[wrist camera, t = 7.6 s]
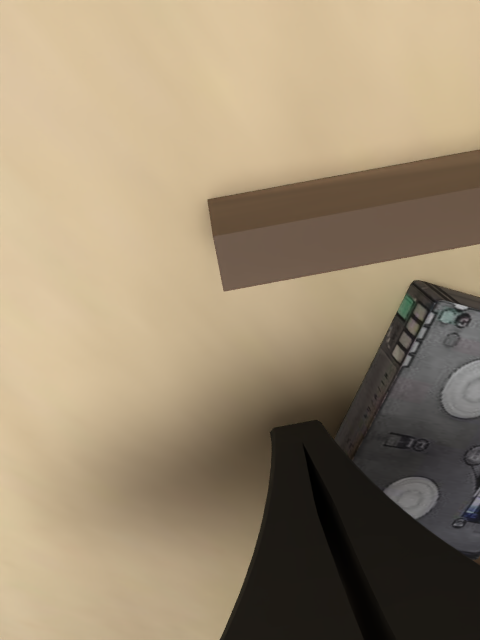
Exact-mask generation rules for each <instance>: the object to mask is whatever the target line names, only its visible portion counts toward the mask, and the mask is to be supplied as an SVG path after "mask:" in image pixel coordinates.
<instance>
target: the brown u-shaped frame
mask: <svg viewBox="0 0 480 640" xmlns="http://www.w3.org/2000/svg"><path fill="white" fill-rule="evenodd" d="M208 206H209V212H210V219H211V226H212V232H213V238H214V244H215V249H216V254H217V259H218V264H219V270H220V275H221V280H222V285H223V290H224V291H229V290H235V289H240V288H245V287H251V286H256V285H262V284H267V283H272V282H278V281H283V280H288V279H294V278H299V277H305V276H310V275H315V274H321V273H326V272H331V271H337V270H342V269H347V268H353V267H358V266H364V265H369V264H374V263H380V262H385V261H390V260H396V259H401V258H407V257H412V256H417V255H423V254H428V253H433V252H439V251H444V250H449V249H455V248H460V247H466V246H471V245H476V244H480V150H476V151H470V152H465V153H460V154H454V155H449V156H443V157H438V158H432V159H427V160H421V161H416V162H410V163H405V164H400V165H394V166H389V167H383V168H378V169H372V170H367V171H361V172H356V173H351V174H345V175H340V176H334V177H329V178H323V179H318V180H312V181H307V182H302V183H296V184H291V185H285V186H280V187H274V188H269V189H263V190H258V191H252V192H247V193H242V194H236V195H231V196H225V197H220V198H214V199H209V200H208ZM473 561H475V562H476V563H478V564H479V565H480V556H479V558H478V559H476V560H473Z"/></svg>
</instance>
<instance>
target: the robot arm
mask: <svg viewBox="0 0 480 640" xmlns="http://www.w3.org/2000/svg"><path fill="white" fill-rule="evenodd" d="M270 436H271V443H272V459H271V471H270V480H269V488H268V494H267V499H266V504H265V510H264V515H263V519H262V524H261V528H260V532H259V536H258V539H257V543H256V546H255V550H254V553H253V556H252V559H251V562H250V565H249V568H248V572H247V575H246V577H245V580H244V583H243V586H242V588H241V591H240V594H239V596H238V599H237V601H236V603H235V606H234V608H233V611H232V613H231V615H230V618H229V620H228V623H227V625H226V627H225V630H224V632H223V634H222V636H221V638H220V640H480V565H479V564H478V563H476V562H475V561H473V560H472V559H470V558H469V557H467V556H466V555H464V554H463V553H461V552H460V551H458V550H457V549H455V548H454V547H452V546H451V545H449V544H448V543H446V542H445V541H444V540H442V539H441V538H439V537H438V536H436V535H435V534H434V533H432V532H431V531H430V530H429V529H427V528H426V527H425V526H423V525H422V524H421V523H419V522H418V521H417V520H416V519H414V518H413V517H412V516H411V515H409V514H408V513H407V512H406V511H404V510H403V509H402V508H401V507H400V506H399V505H397V504H396V503H395V502H394V501H393V500H392V499H391V498H389V497H388V496H387V495H386V494H385V493H384V492H383V491H382V490H381V489H380V488H379V487H378V486H376V485H375V484H374V483H373V482H372V481H371V480H370V479H369V478H368V477H367V476H366V475H365V474H364V473H363V472H362V471H361V470H360V468H359V467H358V466H357V465H356V464H355V463H354V462H353V461H352V460H351V459H350V458H349V457H348V456H347V455H346V453H345V452H344V451H343V450H342V449H341V448H340V446H339V445H338V444H337V443H336V442H335V440H334V439H333V438H332V437H331V435H330V434H329V433H328V432H327V430H326V429H325V428H324V426H323V425H322V423H321V422H319V421H318V420H313V421H308V422H303V423H297V424H292V425H287V426H282V427H276V428H273V429H272V430H271V431H270Z"/></svg>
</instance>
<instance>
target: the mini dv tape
mask: <svg viewBox="0 0 480 640" xmlns="http://www.w3.org/2000/svg"><path fill="white" fill-rule="evenodd" d="M334 440H335V442H336V443H337V444H338V445H339V446H340V448H341V449H342V450H343V451H344V452H345V453H346V455H347V456H348V457H349V458H350V459H351V460H352V461H353V462H354V463H355V464H356V465H357V466H358V467H359V468H360V470H361V471H362V472H363V473H364V474H365V475H366V476H367V477H368V478H369V479H370V480H371V481H372V482H373V483H374V484H375V485H376V486H378V487H379V488H380V489H381V490H382V491H383V492H384V493H385V494H386V495H387V496H388V497H389V498H391V499H392V500H393V501H394V502H395V503H396V504H397V505H399V506H400V507H401V508H402V509H403V510H404V511H406V512H407V513H408V514H409V515H411V516H412V517H413V518H414V519H416V520H417V521H418V522H419V523H421V524H422V525H423V526H425V527H426V528H427V529H429V530H430V531H431V532H432V533H434V534H435V535H436V536H438V537H439V538H441V539H442V540H444V541H445V542H446V543H448V544H449V545H451V546H452V547H454V548H455V549H457V550H458V551H460V552H461V553H463V554H464V555H466V556H467V557H469V558H470V559H472V560H476V559H478V558H479V556H480V297H476V296H473V295H469V294H466V293H462V292H459V291H455V290H451V289H448V288H444V287H441V286H437V285H434V284H430V283H427V282H423V281H419V280H416V281H413V282H412V283H411V285H410V287H409V289H408V291H407V293H406V295H405V297H404V299H403V301H402V303H401V305H400V307H399V309H398V311H397V313H396V315H395V317H394V319H393V321H392V323H391V325H390V327H389V329H388V331H387V333H386V335H385V337H384V339H383V341H382V343H381V345H380V347H379V349H378V352H377V354H376V356H375V358H374V360H373V362H372V364H371V366H370V368H369V370H368V372H367V374H366V376H365V378H364V380H363V382H362V384H361V386H360V388H359V390H358V392H357V394H356V396H355V398H354V400H353V402H352V404H351V406H350V408H349V410H348V412H347V414H346V416H345V418H344V420H343V422H342V424H341V426H340V428H339V430H338V433H337V435H336V437H335V439H334Z"/></svg>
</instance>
